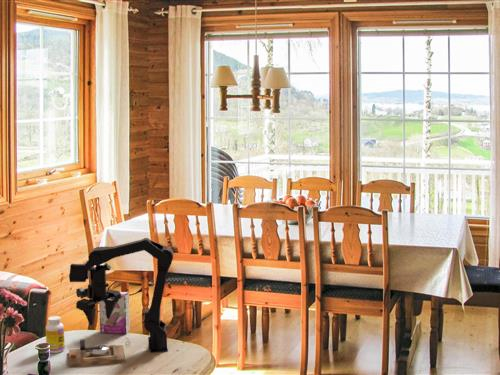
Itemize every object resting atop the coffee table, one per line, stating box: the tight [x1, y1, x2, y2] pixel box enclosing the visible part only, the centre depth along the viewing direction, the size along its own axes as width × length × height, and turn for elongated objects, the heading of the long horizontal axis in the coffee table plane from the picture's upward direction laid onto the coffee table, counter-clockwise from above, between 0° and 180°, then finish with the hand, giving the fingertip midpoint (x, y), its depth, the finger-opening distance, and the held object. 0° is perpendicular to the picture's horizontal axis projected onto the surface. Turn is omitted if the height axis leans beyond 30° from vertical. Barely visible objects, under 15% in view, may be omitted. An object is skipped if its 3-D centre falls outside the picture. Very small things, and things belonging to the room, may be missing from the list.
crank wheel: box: [79, 339, 109, 357], centre depth 284 cm, size 10×7×6 cm, turn 106°
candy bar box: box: [98, 291, 131, 335], centre depth 312 cm, size 11×5×16 cm, turn 82°
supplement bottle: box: [45, 315, 66, 354], centre depth 292 cm, size 7×7×13 cm
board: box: [68, 344, 126, 368], centre depth 286 cm, size 20×15×2 cm
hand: (99, 321), depth 291 cm, fingers open, 9 cm apart
